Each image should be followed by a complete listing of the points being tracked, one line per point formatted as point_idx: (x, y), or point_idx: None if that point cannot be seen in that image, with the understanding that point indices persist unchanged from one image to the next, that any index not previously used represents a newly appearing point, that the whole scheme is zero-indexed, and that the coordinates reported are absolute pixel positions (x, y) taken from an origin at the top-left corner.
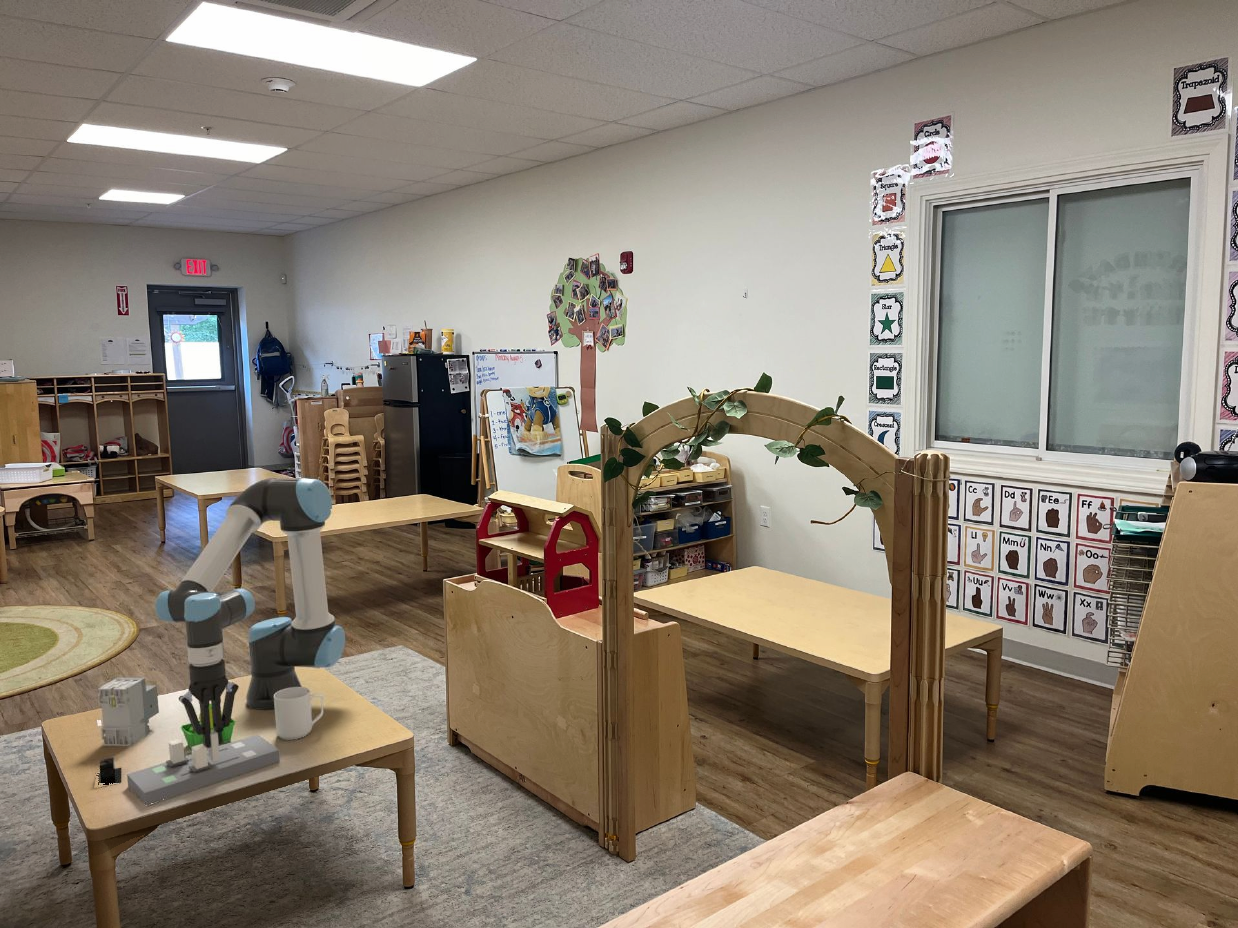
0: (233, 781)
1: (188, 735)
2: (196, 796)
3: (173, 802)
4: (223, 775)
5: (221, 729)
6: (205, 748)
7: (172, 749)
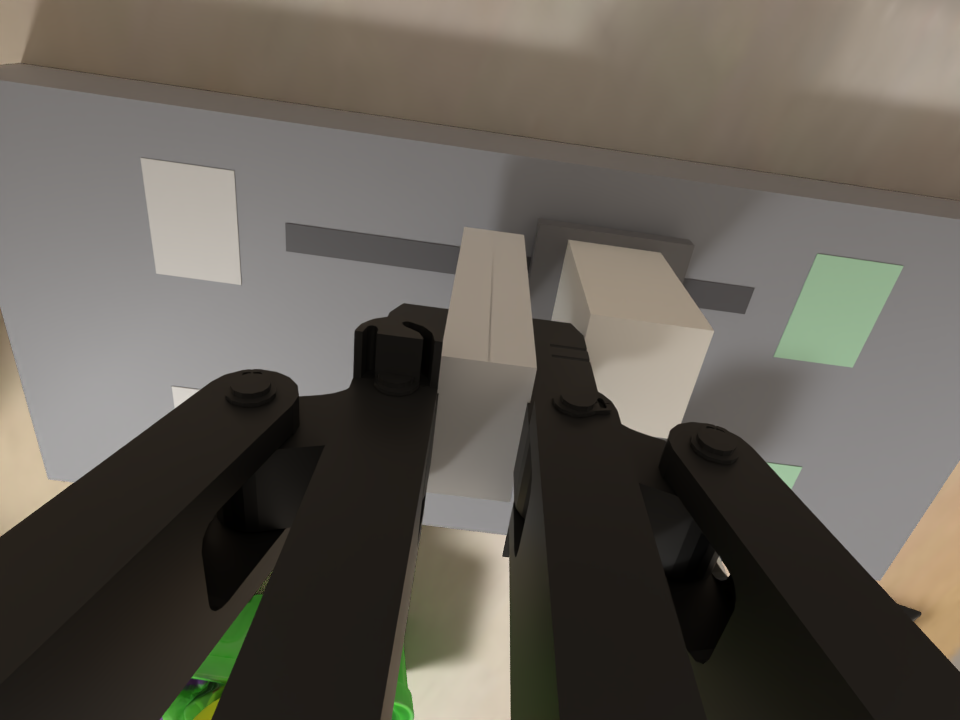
0: (441, 34)
1: (412, 706)
2: (761, 30)
3: (908, 89)
4: (476, 136)
5: (380, 352)
6: (600, 309)
7: (720, 562)
